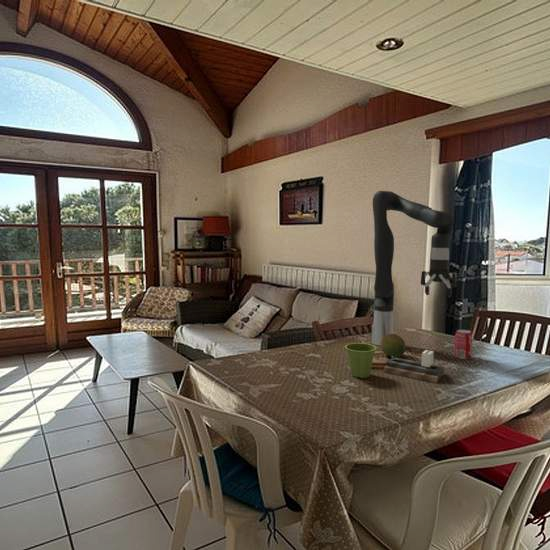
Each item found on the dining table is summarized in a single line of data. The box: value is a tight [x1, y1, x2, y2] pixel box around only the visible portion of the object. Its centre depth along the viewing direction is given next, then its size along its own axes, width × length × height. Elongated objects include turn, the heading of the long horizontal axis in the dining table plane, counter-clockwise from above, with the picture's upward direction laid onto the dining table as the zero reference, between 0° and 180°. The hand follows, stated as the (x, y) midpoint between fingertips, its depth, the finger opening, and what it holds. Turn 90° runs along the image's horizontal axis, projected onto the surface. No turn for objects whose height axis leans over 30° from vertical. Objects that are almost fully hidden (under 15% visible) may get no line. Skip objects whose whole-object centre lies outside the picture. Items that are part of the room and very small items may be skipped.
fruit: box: [379, 333, 407, 358], centre depth 176 cm, size 12×12×10 cm
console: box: [383, 357, 446, 384], centre depth 155 cm, size 20×12×4 cm, turn 53°
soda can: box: [453, 329, 473, 360], centre depth 175 cm, size 7×7×12 cm
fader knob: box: [421, 349, 435, 368], centre depth 152 cm, size 3×5×7 cm, turn 143°
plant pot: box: [344, 342, 377, 379], centre depth 153 cm, size 12×12×11 cm
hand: (437, 295), depth 170 cm, fingers open, 8 cm apart
